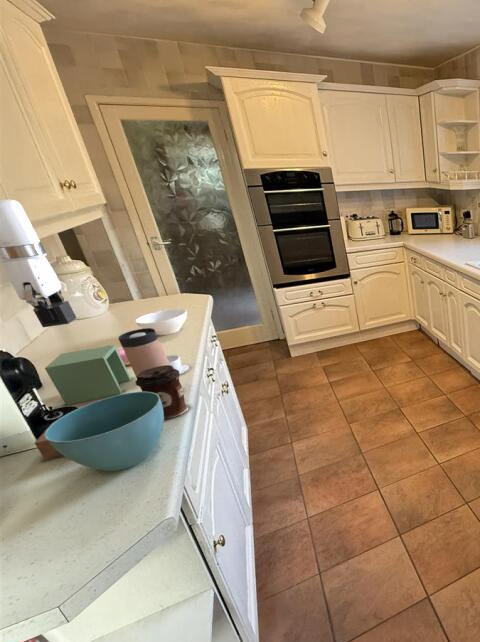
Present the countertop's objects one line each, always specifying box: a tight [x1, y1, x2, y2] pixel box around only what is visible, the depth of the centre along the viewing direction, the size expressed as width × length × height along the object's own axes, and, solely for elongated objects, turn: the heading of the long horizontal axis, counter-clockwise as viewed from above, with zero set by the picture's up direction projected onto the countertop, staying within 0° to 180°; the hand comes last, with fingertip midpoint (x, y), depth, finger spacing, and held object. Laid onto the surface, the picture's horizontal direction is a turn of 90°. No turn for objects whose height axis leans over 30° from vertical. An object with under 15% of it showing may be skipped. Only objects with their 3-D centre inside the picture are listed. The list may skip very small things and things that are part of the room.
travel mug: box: [118, 328, 170, 379], centre depth 110 cm, size 8×8×20 cm
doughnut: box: [117, 348, 131, 366], centre depth 136 cm, size 11×11×4 cm
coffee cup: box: [135, 365, 189, 420], centre depth 104 cm, size 9×8×13 cm
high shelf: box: [44, 344, 132, 406], centre depth 115 cm, size 12×10×12 cm
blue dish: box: [44, 391, 165, 472], centre depth 87 cm, size 18×18×12 cm
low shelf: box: [34, 421, 65, 461], centre depth 95 cm, size 12×9×5 cm
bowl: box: [135, 308, 188, 336], centre depth 158 cm, size 16×16×7 cm
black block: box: [32, 300, 77, 328], centre depth 105 cm, size 5×5×5 cm
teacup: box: [166, 354, 190, 375], centre depth 126 cm, size 10×10×5 cm
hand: (58, 319), depth 105 cm, fingers closed on black block, 5 cm apart
